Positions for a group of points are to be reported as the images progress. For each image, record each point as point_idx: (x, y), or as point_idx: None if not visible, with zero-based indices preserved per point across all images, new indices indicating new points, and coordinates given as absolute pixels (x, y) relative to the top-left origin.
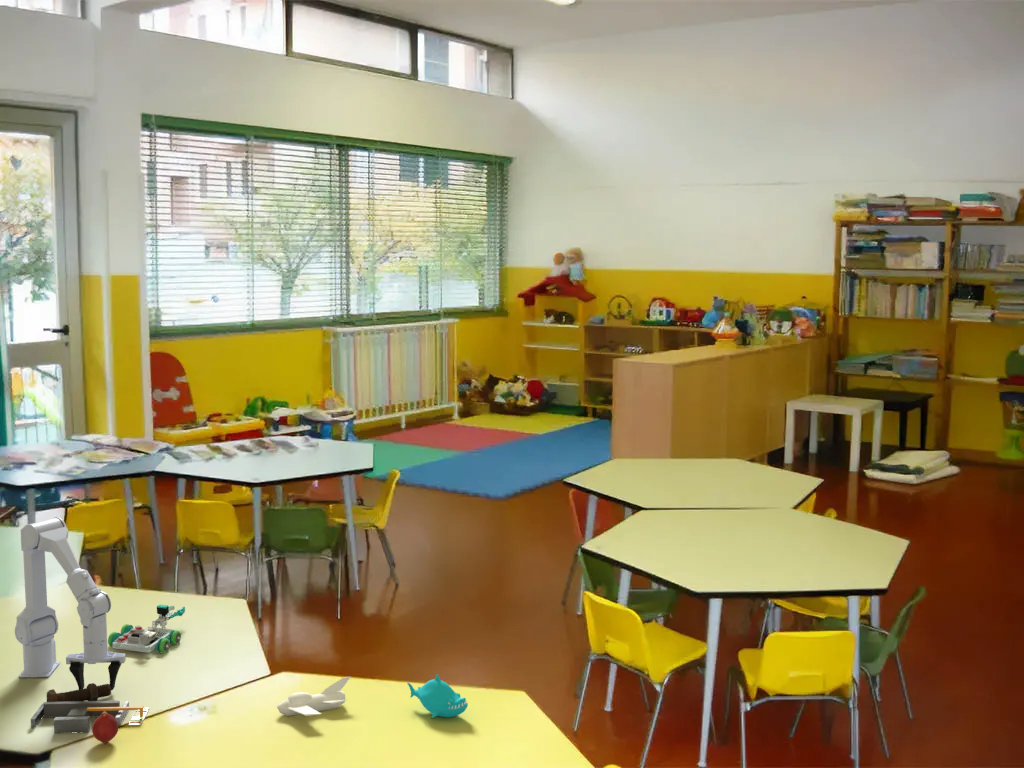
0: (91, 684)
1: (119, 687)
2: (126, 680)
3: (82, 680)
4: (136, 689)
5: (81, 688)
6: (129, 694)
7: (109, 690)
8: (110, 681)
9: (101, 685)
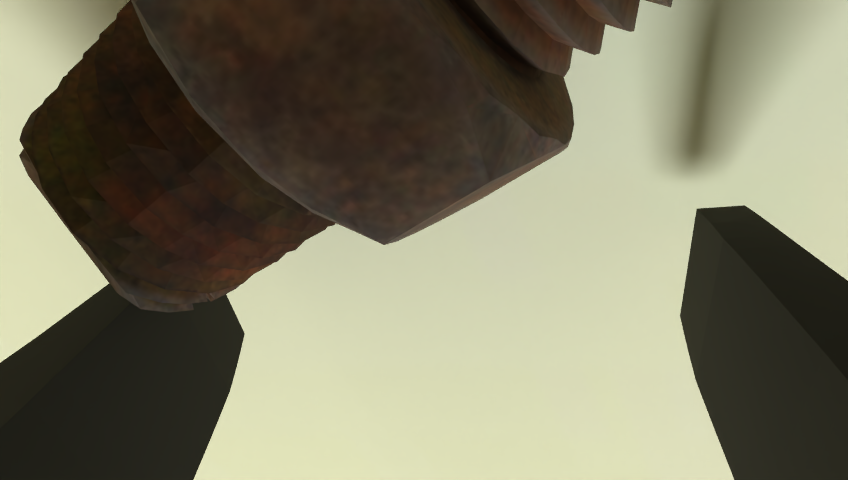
0: (377, 148)
1: (258, 369)
2: (283, 476)
3: (746, 405)
4: (37, 333)
5: (713, 226)
6: (3, 223)
7: (31, 122)
8: (70, 348)
9: (208, 226)
